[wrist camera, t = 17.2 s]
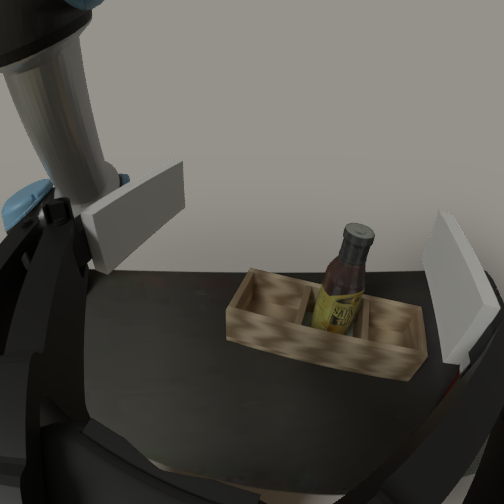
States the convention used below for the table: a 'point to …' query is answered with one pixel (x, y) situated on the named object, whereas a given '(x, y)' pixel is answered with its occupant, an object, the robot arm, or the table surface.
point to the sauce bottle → (343, 282)
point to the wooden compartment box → (323, 342)
